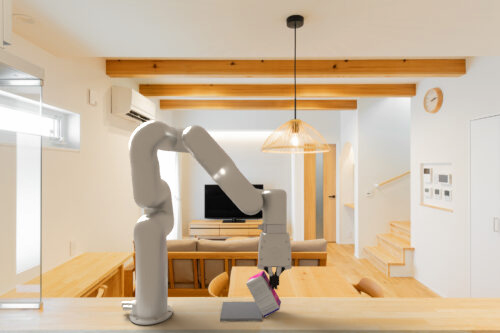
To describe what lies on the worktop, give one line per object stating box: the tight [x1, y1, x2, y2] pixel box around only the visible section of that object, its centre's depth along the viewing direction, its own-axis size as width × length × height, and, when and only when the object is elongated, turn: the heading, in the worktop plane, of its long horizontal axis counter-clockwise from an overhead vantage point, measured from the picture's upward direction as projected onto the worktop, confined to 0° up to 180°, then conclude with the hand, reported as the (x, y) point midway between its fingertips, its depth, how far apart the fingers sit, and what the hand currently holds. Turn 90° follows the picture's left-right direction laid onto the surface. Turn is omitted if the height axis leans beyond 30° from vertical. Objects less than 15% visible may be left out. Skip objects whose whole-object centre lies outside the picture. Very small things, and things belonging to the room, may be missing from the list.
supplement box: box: [245, 270, 282, 318], centre depth 97 cm, size 6×6×12 cm
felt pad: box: [219, 301, 263, 322], centre depth 98 cm, size 12×12×1 cm
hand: (274, 287), depth 97 cm, fingers closed
